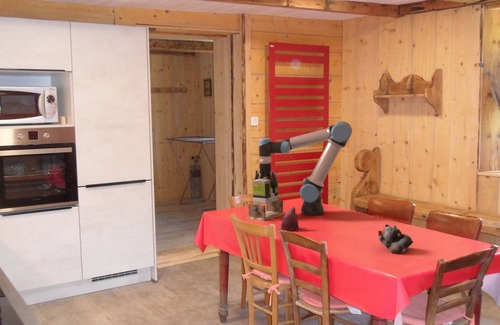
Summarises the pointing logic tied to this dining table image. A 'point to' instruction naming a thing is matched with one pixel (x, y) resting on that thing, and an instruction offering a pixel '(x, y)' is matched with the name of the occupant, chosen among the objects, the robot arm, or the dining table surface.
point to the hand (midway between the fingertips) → (265, 197)
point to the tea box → (263, 191)
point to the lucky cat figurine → (394, 239)
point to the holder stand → (272, 211)
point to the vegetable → (290, 221)
